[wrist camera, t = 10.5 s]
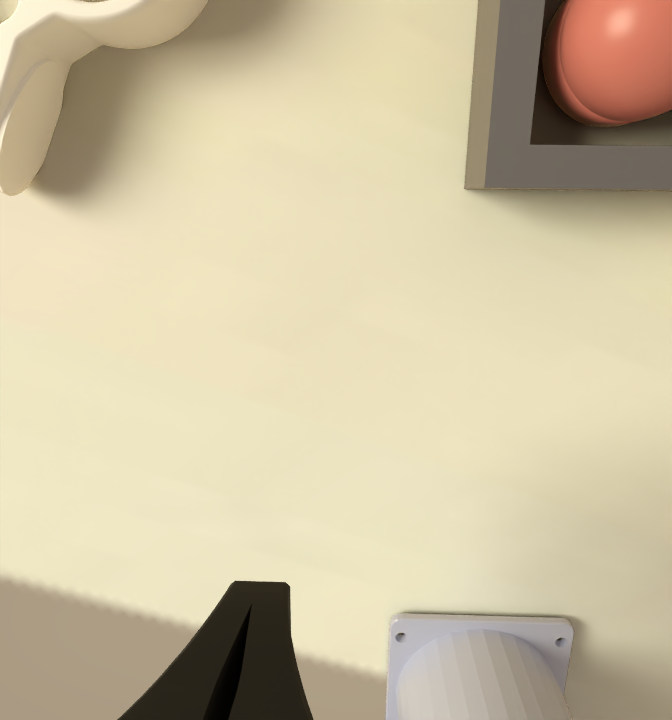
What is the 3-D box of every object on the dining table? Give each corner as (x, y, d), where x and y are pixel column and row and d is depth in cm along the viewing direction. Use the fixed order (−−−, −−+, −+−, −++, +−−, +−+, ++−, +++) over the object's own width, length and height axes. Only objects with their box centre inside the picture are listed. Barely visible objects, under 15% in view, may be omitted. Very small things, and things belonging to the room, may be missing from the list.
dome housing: (702, 191, 19) (766, 190, 16) (464, 188, 19) (484, 187, 16) (758, -94, 16) (845, -155, 13) (485, -93, 17) (513, -154, 14)
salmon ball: (663, 130, 18) (759, 110, 14) (529, 129, 18) (582, 109, 14) (690, -26, 17) (805, -101, 12) (545, -26, 17) (610, -101, 12)
